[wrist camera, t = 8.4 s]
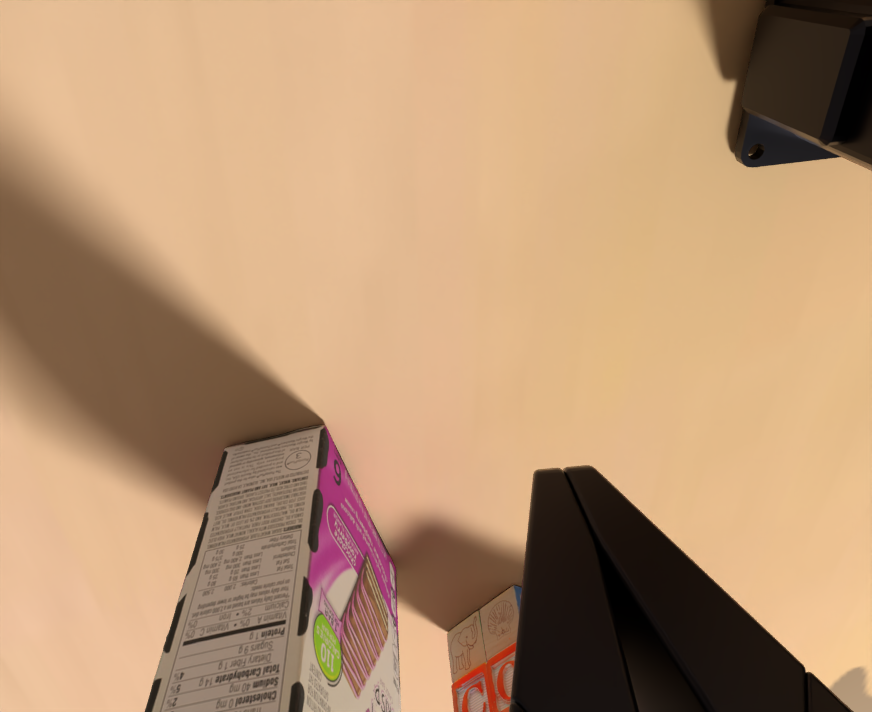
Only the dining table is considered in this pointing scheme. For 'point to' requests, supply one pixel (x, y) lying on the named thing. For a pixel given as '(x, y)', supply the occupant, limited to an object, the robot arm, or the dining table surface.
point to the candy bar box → (284, 591)
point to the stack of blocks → (485, 655)
